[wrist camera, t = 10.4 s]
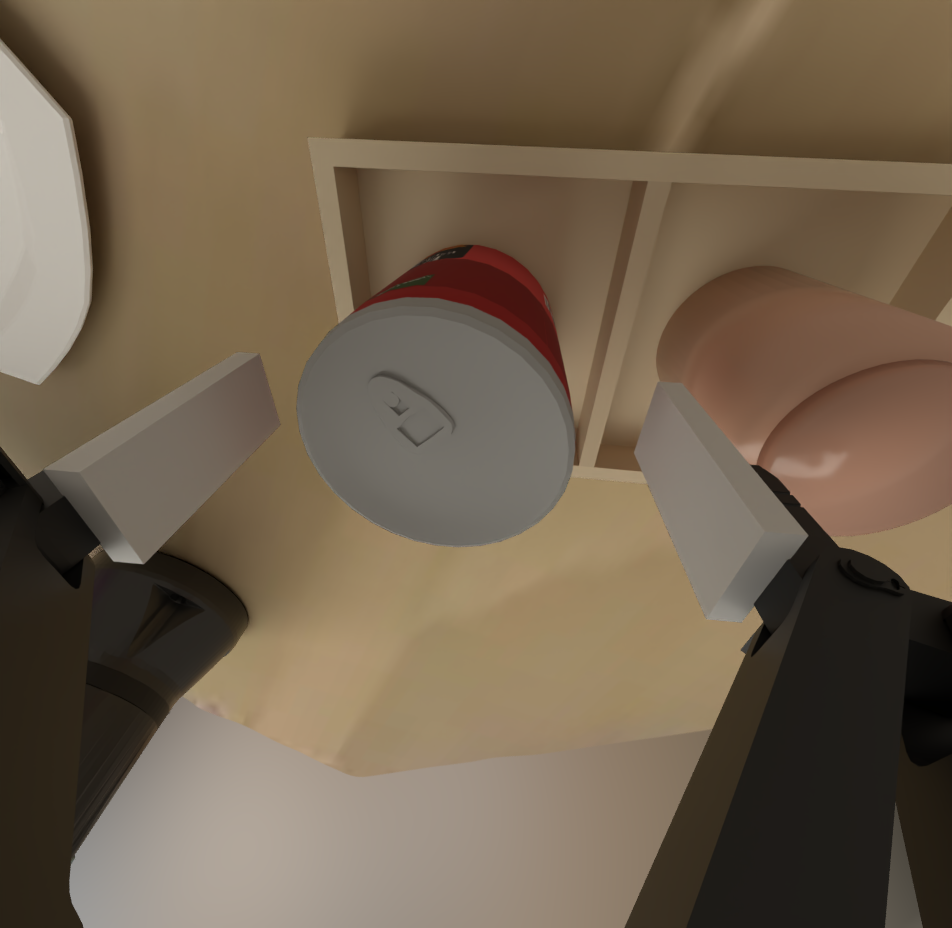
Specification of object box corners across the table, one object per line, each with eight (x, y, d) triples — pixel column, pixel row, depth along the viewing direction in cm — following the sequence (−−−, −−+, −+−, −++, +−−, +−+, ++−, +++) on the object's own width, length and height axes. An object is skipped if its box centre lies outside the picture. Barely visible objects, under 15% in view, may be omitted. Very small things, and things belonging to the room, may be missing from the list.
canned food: (448, 200, 16) (357, 222, 8) (589, 313, 19) (646, 434, 10) (373, 345, 21) (258, 468, 12) (496, 424, 23) (476, 580, 14)
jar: (638, 404, 21) (705, 539, 13) (684, 261, 17) (822, 332, 9) (773, 415, 21) (925, 561, 13) (854, 270, 16) (1154, 354, 9)
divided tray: (377, 430, 25) (361, 457, 22) (339, 143, 16) (307, 137, 14) (790, 466, 23) (821, 500, 21) (982, 170, 15) (1072, 168, 12)
